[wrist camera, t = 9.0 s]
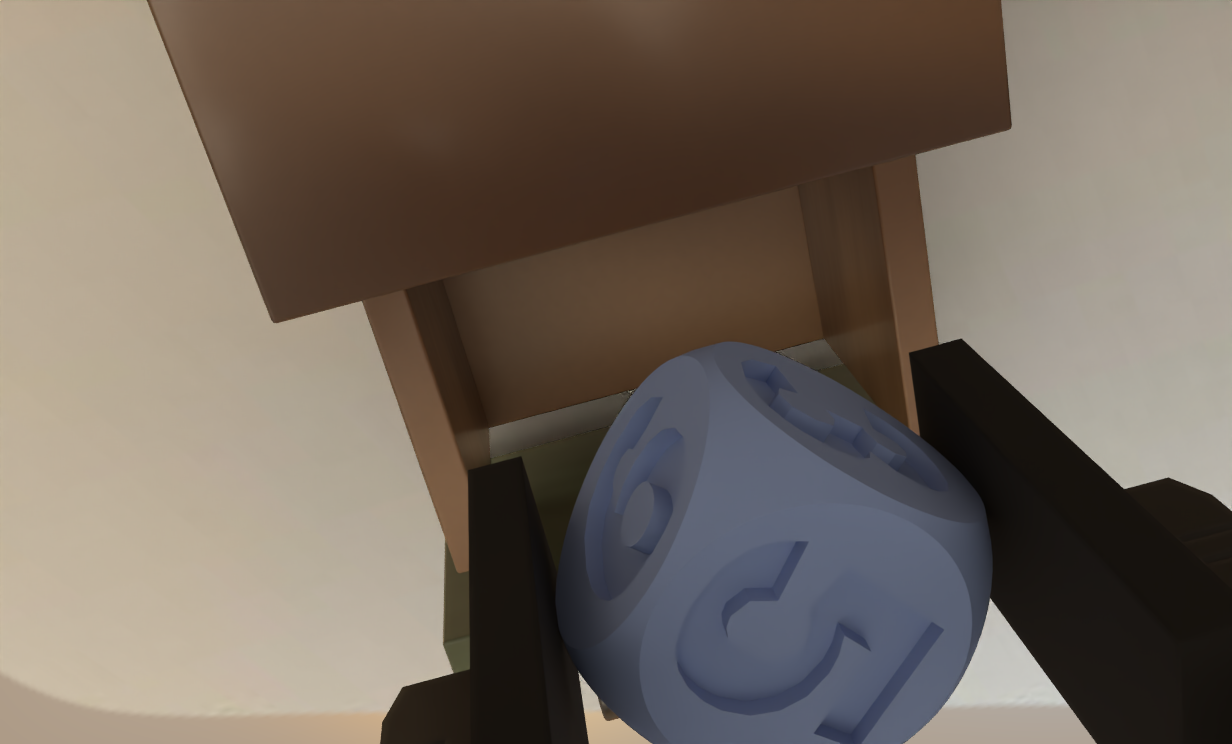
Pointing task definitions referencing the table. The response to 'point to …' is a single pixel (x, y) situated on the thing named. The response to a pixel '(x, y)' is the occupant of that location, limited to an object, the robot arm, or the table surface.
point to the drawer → (650, 332)
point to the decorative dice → (770, 561)
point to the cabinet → (548, 119)
